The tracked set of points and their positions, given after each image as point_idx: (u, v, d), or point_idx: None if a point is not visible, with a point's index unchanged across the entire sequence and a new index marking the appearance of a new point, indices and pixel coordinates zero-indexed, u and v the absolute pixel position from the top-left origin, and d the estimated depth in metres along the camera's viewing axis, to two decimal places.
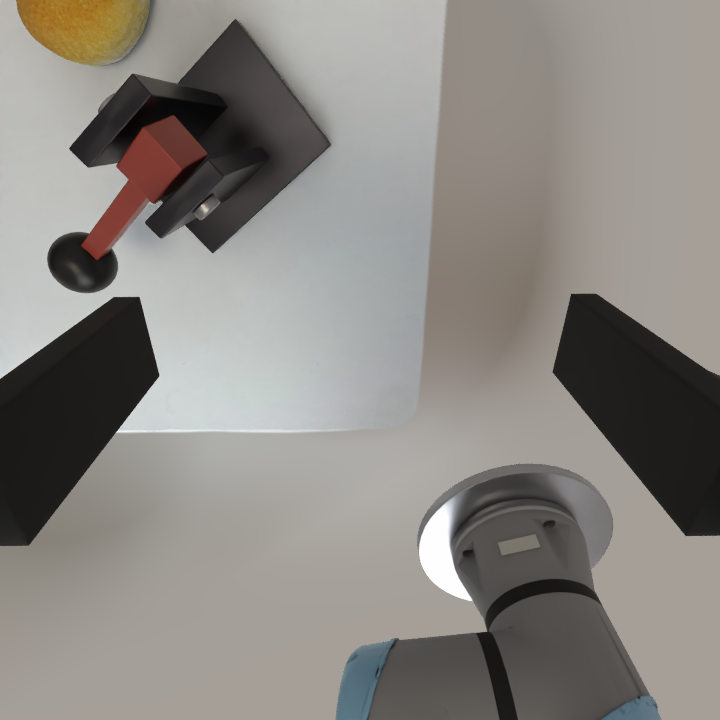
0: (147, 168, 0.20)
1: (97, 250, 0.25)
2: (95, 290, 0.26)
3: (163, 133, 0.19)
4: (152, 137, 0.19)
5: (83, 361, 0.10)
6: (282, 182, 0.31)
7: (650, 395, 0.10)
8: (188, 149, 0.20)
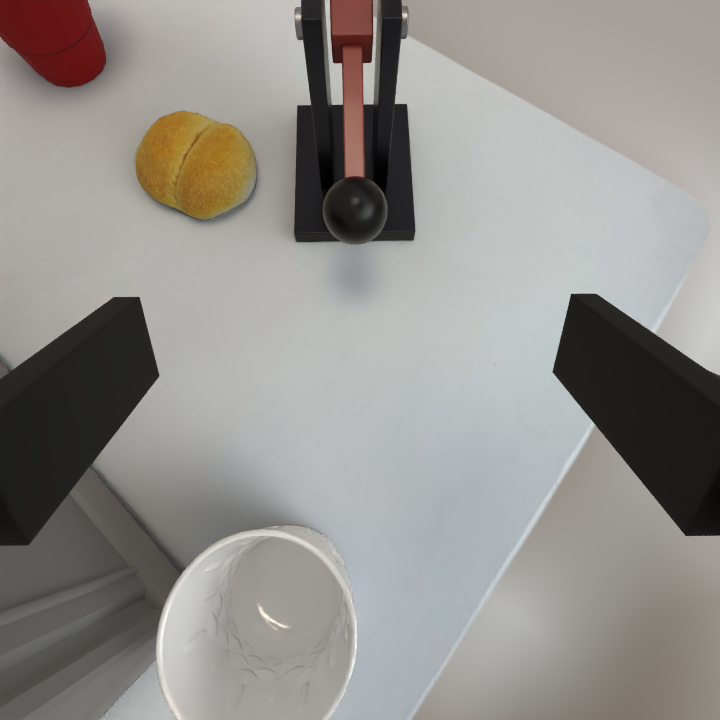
0: (351, 7, 0.22)
1: (359, 164, 0.24)
2: (384, 209, 0.23)
3: None
4: None
5: (83, 361, 0.10)
6: (405, 146, 0.35)
7: (650, 395, 0.10)
8: None
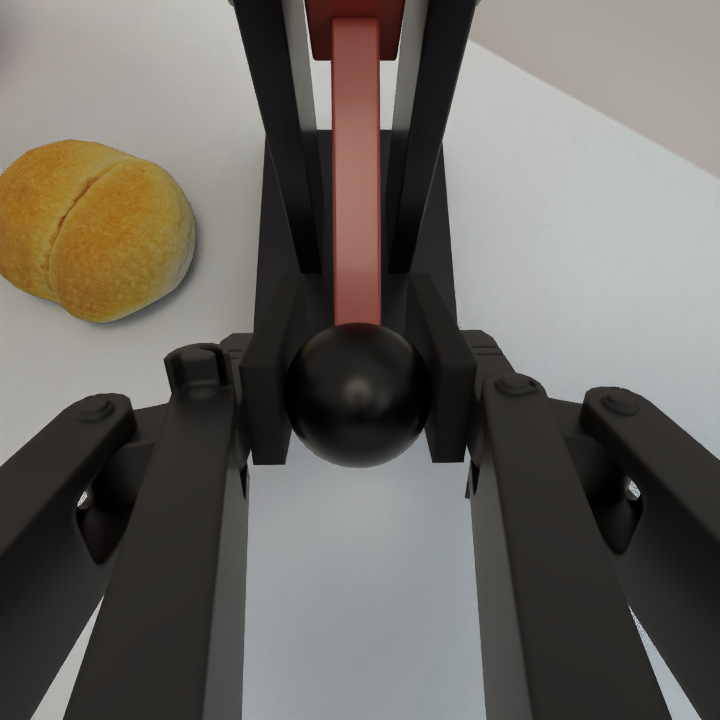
0: None
1: (369, 294, 0.10)
2: (427, 403, 0.10)
3: None
4: None
5: (293, 322, 0.12)
6: (440, 199, 0.21)
7: (424, 351, 0.11)
8: None
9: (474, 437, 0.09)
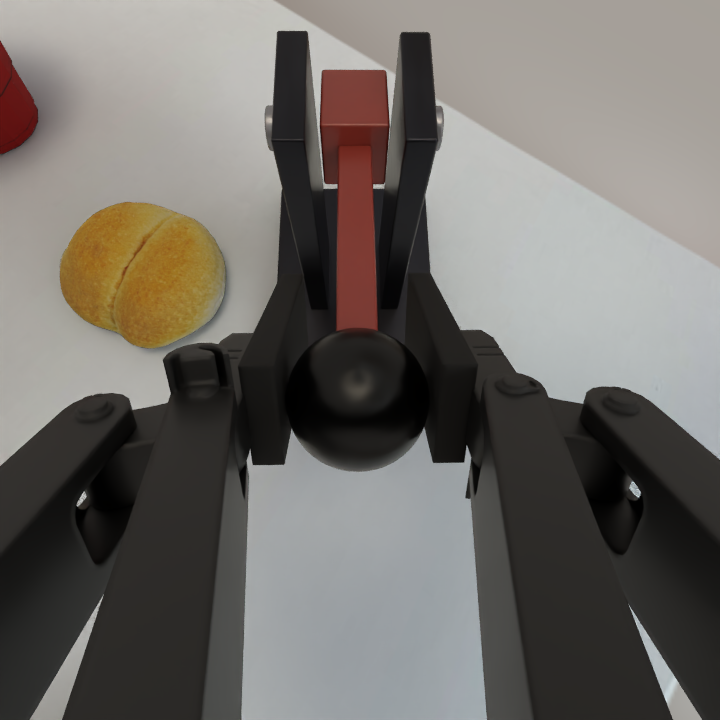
0: (354, 96, 0.14)
1: (367, 308, 0.12)
2: (424, 391, 0.10)
3: None
4: (337, 70, 0.15)
5: (293, 322, 0.12)
6: (423, 248, 0.26)
7: (425, 351, 0.11)
8: None
9: (474, 437, 0.09)
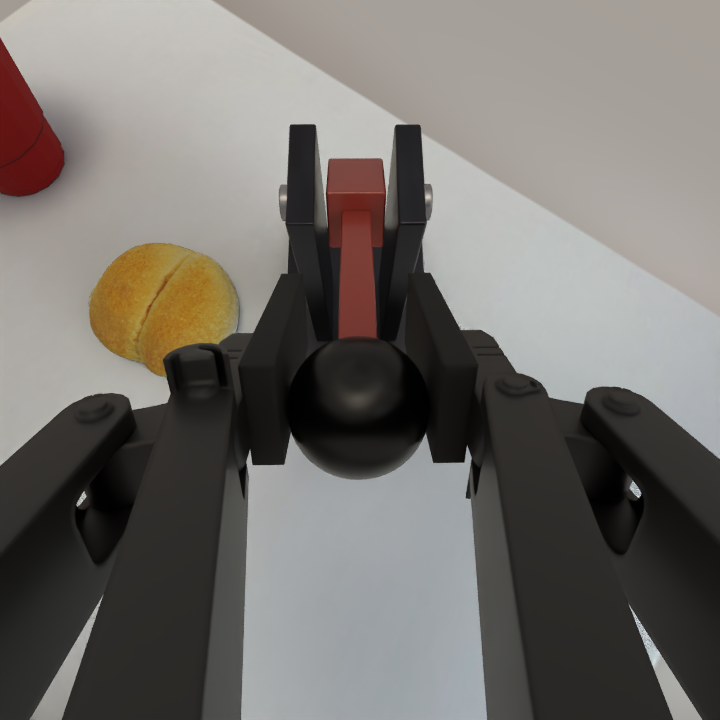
0: (355, 174, 0.17)
1: (368, 327, 0.12)
2: (424, 390, 0.10)
3: None
4: None
5: (293, 322, 0.12)
6: None
7: (425, 351, 0.11)
8: None
9: (475, 437, 0.09)
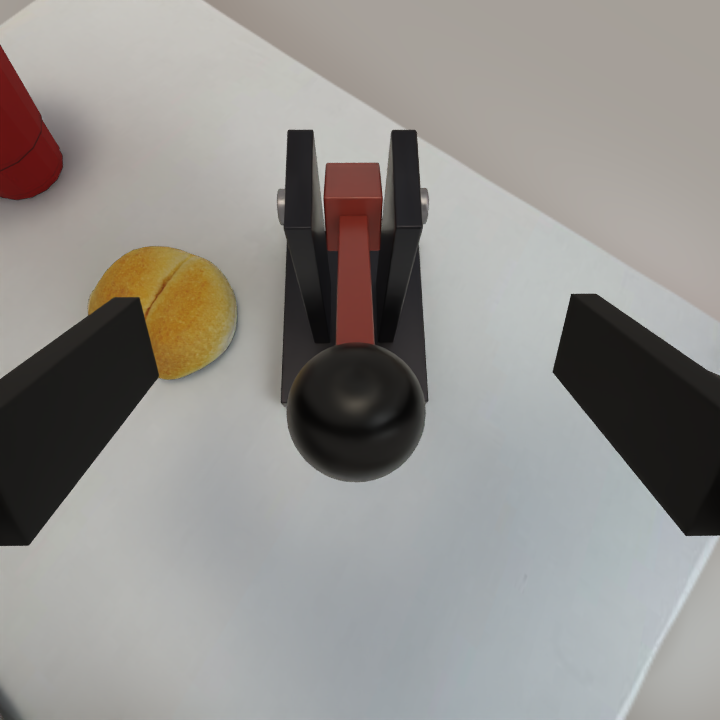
0: (352, 179, 0.17)
1: (365, 332, 0.13)
2: (420, 395, 0.11)
3: None
4: (339, 163, 0.18)
5: (83, 361, 0.10)
6: (416, 286, 0.29)
7: (650, 395, 0.10)
8: None
9: None
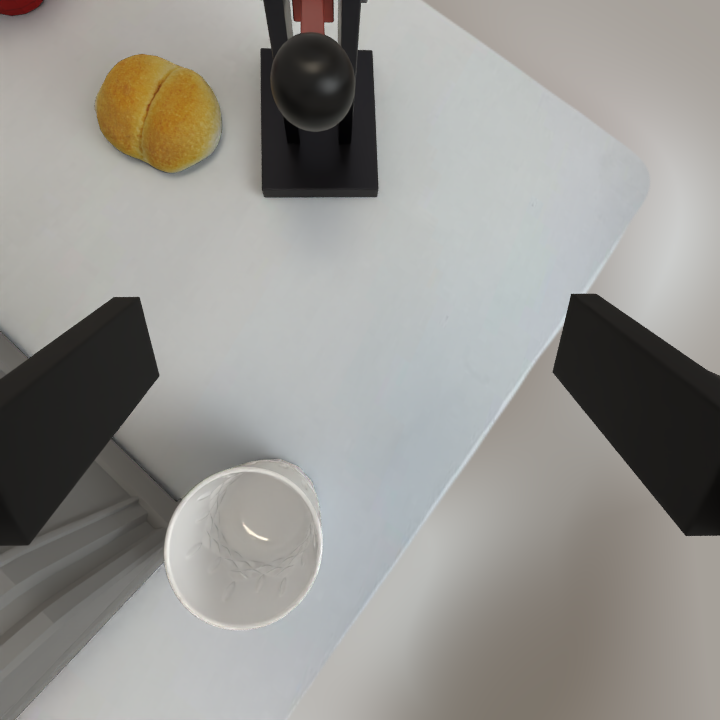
0: None
1: None
2: (350, 65, 0.18)
3: None
4: None
5: (83, 361, 0.10)
6: (370, 98, 0.35)
7: (650, 395, 0.10)
8: None
9: None
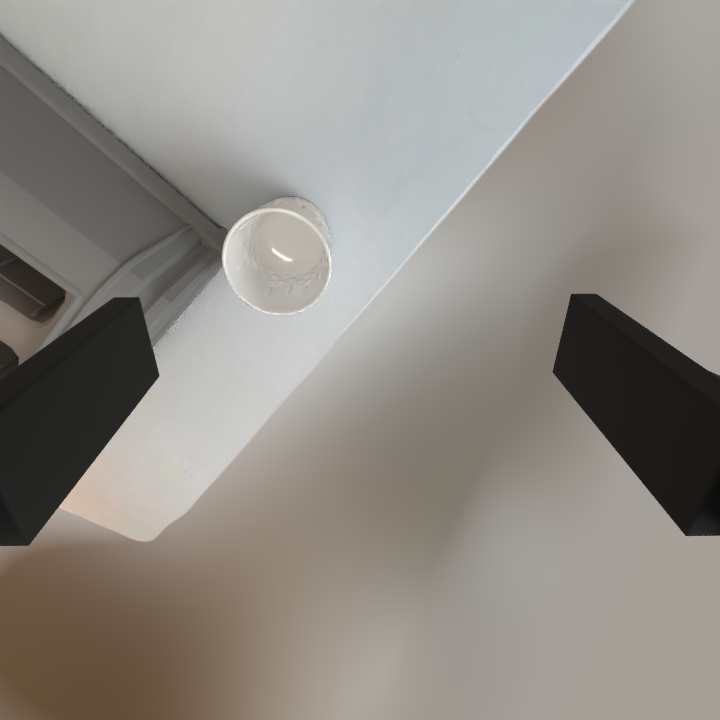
0: None
1: None
2: None
3: None
4: None
5: (83, 361, 0.10)
6: None
7: (650, 395, 0.10)
8: None
9: None
